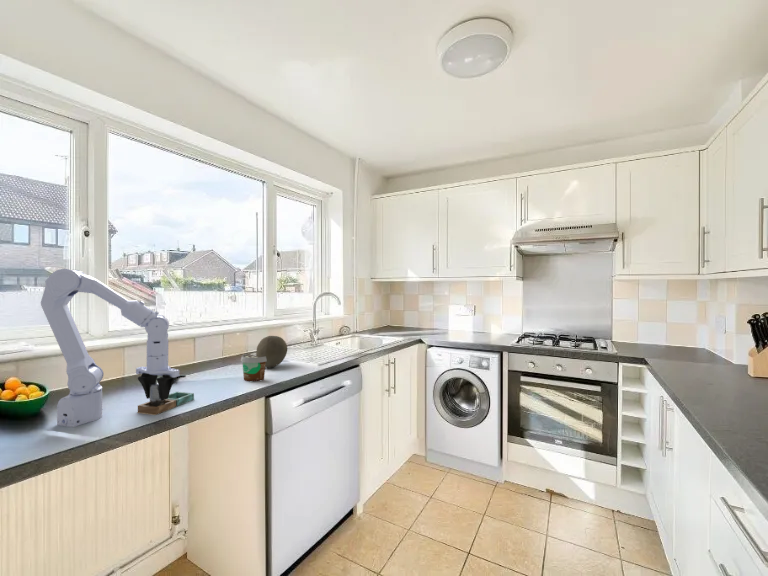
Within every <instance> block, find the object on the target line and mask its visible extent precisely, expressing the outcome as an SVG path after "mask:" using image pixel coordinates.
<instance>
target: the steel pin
mask: <svg viewBox="0 0 768 576" xmlns="http://www.w3.org/2000/svg"><path fill="white" fill-rule="evenodd" d="M149 401H150V406H155V407H158V406H160V405H163V404H165V400H161V398H160V388H159V384H158V382H155V383H151V384H150V398H149Z"/></svg>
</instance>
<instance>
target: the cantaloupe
mask: <svg viewBox="0 0 768 576" xmlns="http://www.w3.org/2000/svg"><path fill="white" fill-rule="evenodd" d="M255 353H256V354H255V356H257V357H265V356H266V359H267V361H266V363H265V368H267V369H268V368H269V369H272V368H275V367H278V366H279V365H280V364H281V363H282V362H283V361H284V359H285V358H286V357H287V354H288V344H287V343H286V341H285V340H284V338H283V337H281V336H279V335H278V336H277V335H268V336H266V337H263V338H262V339H261V340H260V341H259V342H258V344H257V346H256V352H255Z"/></svg>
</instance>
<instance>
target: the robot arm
mask: <svg viewBox="0 0 768 576" xmlns="http://www.w3.org/2000/svg"><path fill="white" fill-rule="evenodd" d="M44 283H45V284H44V285H45V286H44V287H45V288H44V289H43V293H42V296H41V300H40V306H41V308H42V311H43V313H44V315H45V318H46V320H47V322H48V325H49V326H50V328H51V330H52V333H53V335H54V337H55V340H56V342H57V344H58V346H59V349H60V352H61V353H62V355H63V358H64V360H65V363H66V369H65V370H66V371H65V372H66V374H67V378H68V379H67V388H68V390H69V394H68V395H66V396H63V397H61V398H60V399H59V400H58V402H57V406H56V410H57V411H56V414H57V415H56V425H57V426H62V427H63V426H64V427H69V428H75V427H78V426H81V425H83V424H86V423H90V422H94V421H97V420H100V419H101V418H102V417H103V386H102V385H101V384H100V382H101V381H102V380H103V378H104V371H103V369H102V367H101V366H99V365H97V364H96V362H95V359H94V358H93V357H92V356H90V354H89V353H88V350H87V348H86V345H85V343H84V340H83V338H82V336H81V334H80V331H79V329H78V326H77V324H76V322H75V320H74V317H73V314H72V313H71V310H70V308H69V306H68V304H69V302H70V301H72V299H73V297H74V296H75V295H76V294H78V293H84V294H86V293H87V294H93V295H95V296H96V297H99V298H101V299H102V300H104V301H105V302H107V303H109V304H111V305H113V306H114V307H116V308H118V309H120V313H121V316H122V317H124V318H125V319H127V320H129V321H130V322H132V323H134V324H135V325H137V326H138V327H140V328H144V329H145V332H146V333H147V340H146V366H139V367H135V375H141V376H137V381H139V383H140V385H141V386H142V389H143V391H144V394H145V398H146V399H149V400H150V384H151V383H155V382H156V380H157V382H158V384H159V388H160V398H161V400H165V399H168V397H169V394H171V391H172V386H173V385H174V383H175V381H176V380H177V377H178V378H179V377H180V376H179V375H180V369H176V368H171V366H170V365H169V333H168V329H169V325H170V321H169V320H168V318H166V316H165V315H162V314H160V312H159V311H154V310H153V309H151V308H150V307H148V306H146V302H144V301H143V300H140V301H139V300H137V299H135V300H133V299H132V300H129V299H127V298H126V297H124V296H123V295H121V294H120V293H118V292H116V291H115V290H114V289H113V288H111V287H109V286H108V285H106V284H105V283H104V282H102V281H100V280H98V278H96V277H93V276H91V275H88V274H86V273H85V272H84V271H82V270H79V269H69V268H61V269H56V270H55V271H53V272H52V273H51V274H50V275H49V276H47V278H46V279H45V280H44ZM159 375H160V376H163V377H160V378H157V376H159Z"/></svg>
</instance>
